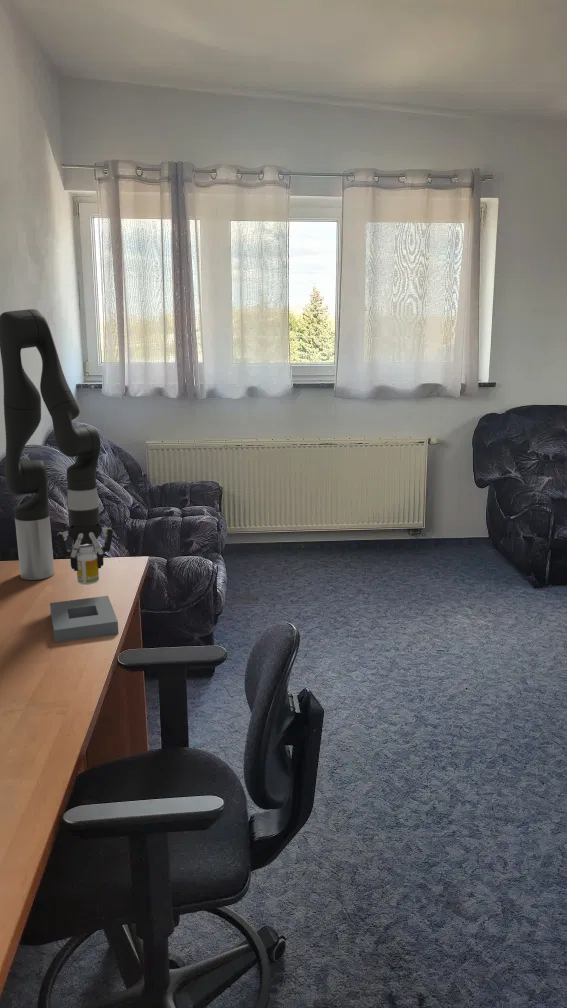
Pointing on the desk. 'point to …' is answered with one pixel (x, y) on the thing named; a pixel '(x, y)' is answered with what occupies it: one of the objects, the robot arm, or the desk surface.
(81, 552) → the supplement bottle
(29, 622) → the desk surface
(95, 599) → the socket holder
